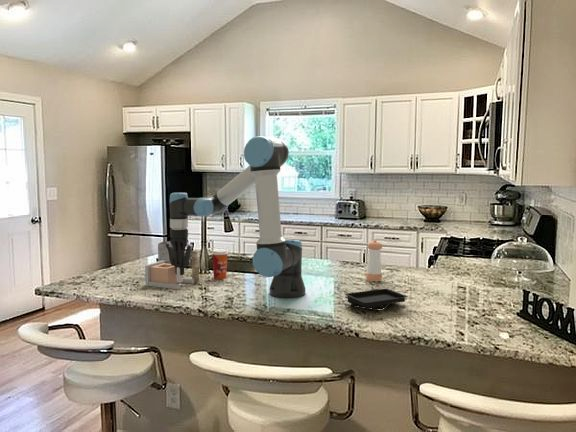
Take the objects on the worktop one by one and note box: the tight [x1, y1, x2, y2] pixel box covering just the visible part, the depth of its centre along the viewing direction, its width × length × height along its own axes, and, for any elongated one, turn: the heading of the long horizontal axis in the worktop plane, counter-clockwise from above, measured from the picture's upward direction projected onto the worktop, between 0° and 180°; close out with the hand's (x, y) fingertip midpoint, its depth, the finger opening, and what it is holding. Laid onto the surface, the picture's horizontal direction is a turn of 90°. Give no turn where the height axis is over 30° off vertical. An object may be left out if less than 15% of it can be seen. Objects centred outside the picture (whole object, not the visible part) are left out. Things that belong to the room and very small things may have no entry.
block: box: [150, 263, 178, 285], centre depth 209 cm, size 9×9×8 cm
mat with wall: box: [144, 260, 195, 290], centre depth 211 cm, size 19×20×10 cm
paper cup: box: [211, 248, 229, 280], centre depth 221 cm, size 8×8×14 cm
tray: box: [344, 288, 409, 310], centre depth 182 cm, size 30×23×5 cm
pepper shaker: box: [365, 239, 383, 282], centre depth 222 cm, size 7×7×19 cm
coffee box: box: [157, 240, 174, 264], centre depth 231 cm, size 9×6×16 cm
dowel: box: [191, 250, 200, 283], centre depth 214 cm, size 3×3×14 cm
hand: (180, 281), depth 206 cm, fingers closed
